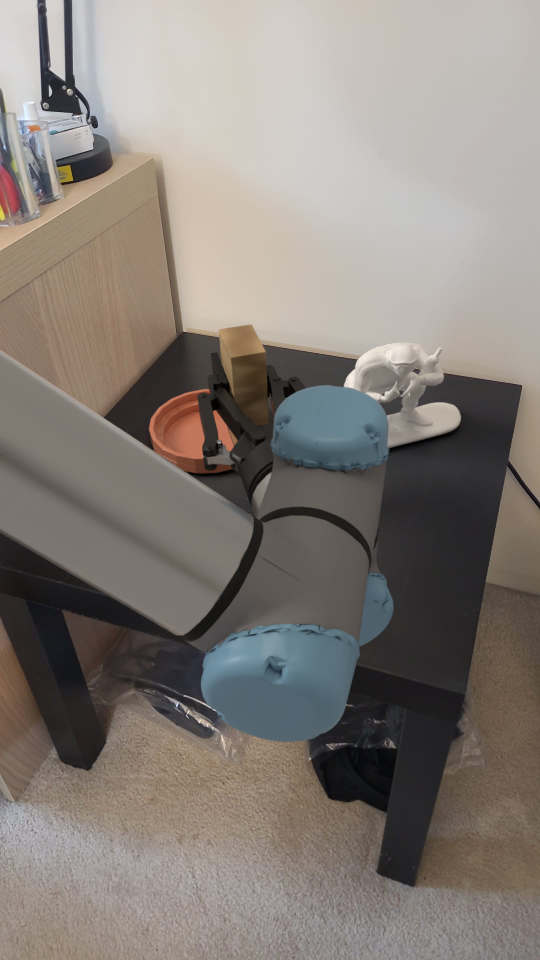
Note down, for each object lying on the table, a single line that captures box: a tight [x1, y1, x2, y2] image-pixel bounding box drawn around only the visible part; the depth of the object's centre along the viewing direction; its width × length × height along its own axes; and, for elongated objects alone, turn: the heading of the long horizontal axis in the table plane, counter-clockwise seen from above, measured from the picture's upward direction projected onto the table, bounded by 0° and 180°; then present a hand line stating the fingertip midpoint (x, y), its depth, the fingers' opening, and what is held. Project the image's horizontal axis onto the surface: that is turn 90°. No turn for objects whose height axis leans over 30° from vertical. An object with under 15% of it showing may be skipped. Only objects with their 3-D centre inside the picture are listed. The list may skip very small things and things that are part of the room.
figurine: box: [343, 341, 462, 449], centre depth 89 cm, size 26×13×17 cm, turn 109°
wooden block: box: [218, 323, 270, 445], centre depth 74 cm, size 4×6×13 cm, turn 15°
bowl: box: [148, 388, 234, 474], centre depth 95 cm, size 16×16×3 cm
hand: (233, 360), depth 78 cm, fingers closed on wooden block, 4 cm apart
